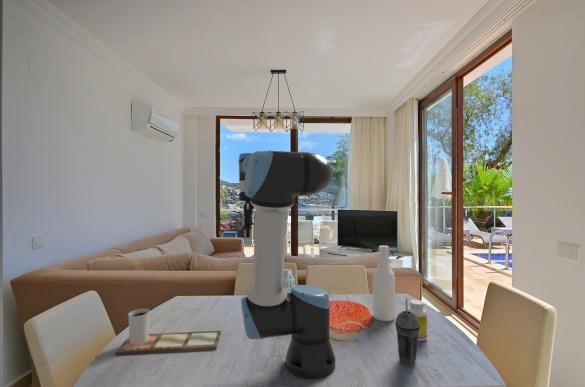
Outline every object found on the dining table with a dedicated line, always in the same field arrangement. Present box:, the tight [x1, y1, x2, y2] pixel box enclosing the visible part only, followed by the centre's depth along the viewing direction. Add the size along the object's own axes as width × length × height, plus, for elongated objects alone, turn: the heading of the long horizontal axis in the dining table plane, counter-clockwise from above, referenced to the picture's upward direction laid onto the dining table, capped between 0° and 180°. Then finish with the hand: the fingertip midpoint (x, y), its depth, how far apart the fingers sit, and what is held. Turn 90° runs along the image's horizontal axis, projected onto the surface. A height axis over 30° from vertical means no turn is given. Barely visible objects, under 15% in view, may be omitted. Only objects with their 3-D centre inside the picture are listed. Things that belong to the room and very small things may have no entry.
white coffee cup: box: [127, 308, 151, 345], centre depth 107 cm, size 7×7×10 cm
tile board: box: [115, 330, 222, 356], centre depth 108 cm, size 12×32×1 cm, turn 96°
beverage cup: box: [394, 298, 420, 367], centre depth 96 cm, size 7×7×20 cm
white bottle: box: [372, 244, 396, 323], centre depth 129 cm, size 9×9×30 cm
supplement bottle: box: [408, 299, 428, 342], centre depth 112 cm, size 7×7×13 cm
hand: (248, 243), depth 127 cm, fingers open, 13 cm apart
